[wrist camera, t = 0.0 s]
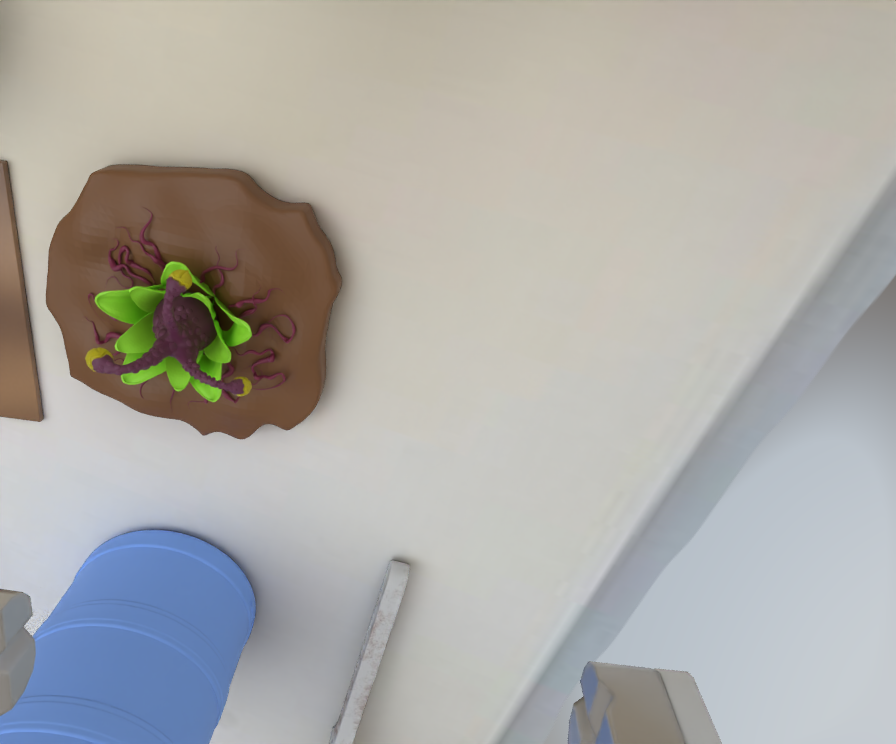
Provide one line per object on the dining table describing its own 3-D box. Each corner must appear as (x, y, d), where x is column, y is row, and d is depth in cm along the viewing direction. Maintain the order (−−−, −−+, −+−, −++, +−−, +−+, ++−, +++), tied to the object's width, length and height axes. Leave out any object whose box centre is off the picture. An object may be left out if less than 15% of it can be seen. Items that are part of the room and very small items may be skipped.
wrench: (412, 540, 63) (335, 770, 73) (393, 535, 62) (318, 767, 72) (408, 598, 55) (323, 846, 65) (386, 593, 55) (304, 843, 65)
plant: (58, 125, 44) (-60, 155, 34) (358, 198, 46) (329, 247, 36) (64, 390, 53) (-29, 476, 43) (314, 443, 55) (281, 537, 45)
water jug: (79, 511, 58) (-209, 877, 33) (263, 539, 59) (118, 915, 34) (89, 639, 65) (-142, 1020, 40) (254, 662, 66) (128, 1049, 41)
